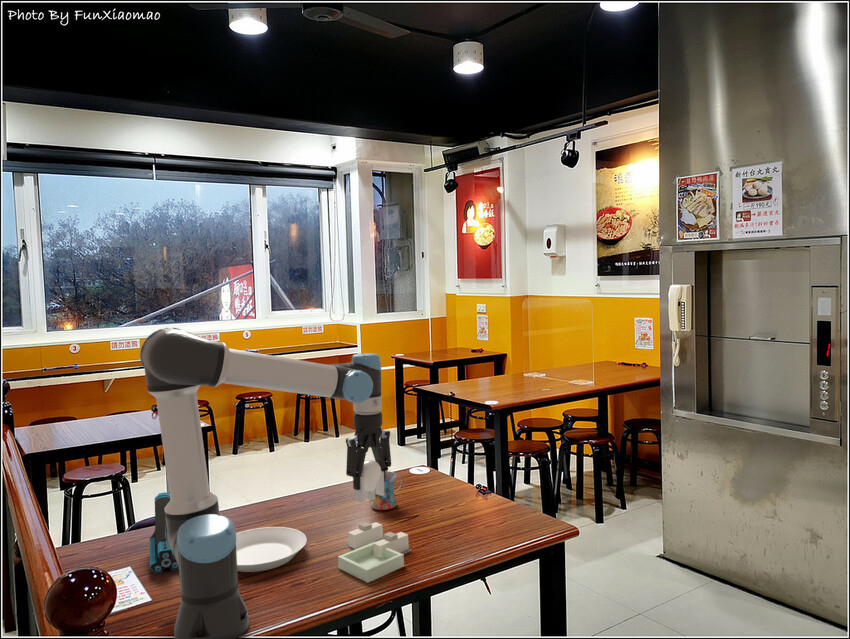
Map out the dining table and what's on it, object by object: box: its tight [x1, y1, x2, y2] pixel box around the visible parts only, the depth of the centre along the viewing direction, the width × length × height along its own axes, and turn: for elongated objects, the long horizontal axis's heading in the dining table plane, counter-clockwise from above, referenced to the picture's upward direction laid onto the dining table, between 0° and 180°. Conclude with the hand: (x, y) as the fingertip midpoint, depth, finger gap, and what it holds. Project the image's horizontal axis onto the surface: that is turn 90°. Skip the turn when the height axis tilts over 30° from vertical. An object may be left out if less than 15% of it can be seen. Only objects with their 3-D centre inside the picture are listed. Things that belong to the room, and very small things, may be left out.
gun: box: [149, 492, 179, 575], centre depth 175 cm, size 8×26×15 cm, turn 23°
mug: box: [370, 470, 405, 511], centre depth 207 cm, size 12×9×11 cm
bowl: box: [236, 526, 308, 573], centre depth 172 cm, size 25×25×4 cm
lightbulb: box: [361, 459, 381, 502], centre depth 168 cm, size 6×6×11 cm
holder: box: [345, 521, 413, 559], centre depth 174 cm, size 10×17×6 cm, turn 44°
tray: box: [337, 542, 405, 584], centre depth 162 cm, size 12×12×3 cm
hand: (370, 497), depth 168 cm, fingers closed on lightbulb, 6 cm apart
